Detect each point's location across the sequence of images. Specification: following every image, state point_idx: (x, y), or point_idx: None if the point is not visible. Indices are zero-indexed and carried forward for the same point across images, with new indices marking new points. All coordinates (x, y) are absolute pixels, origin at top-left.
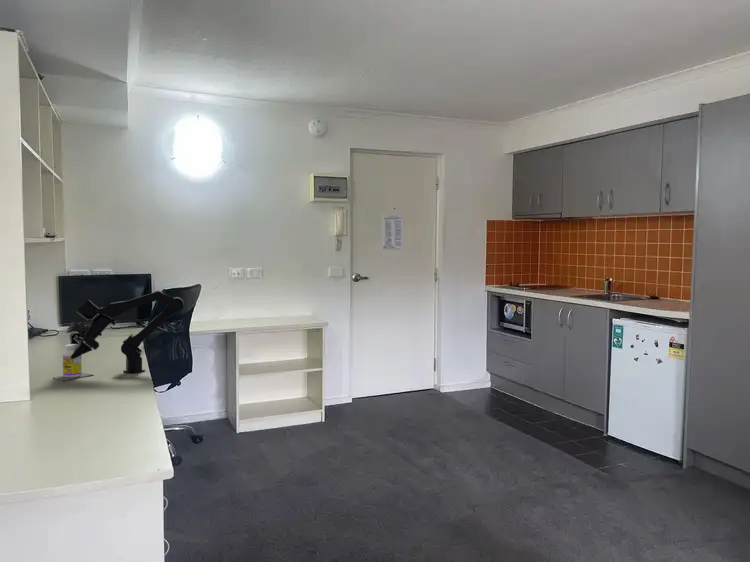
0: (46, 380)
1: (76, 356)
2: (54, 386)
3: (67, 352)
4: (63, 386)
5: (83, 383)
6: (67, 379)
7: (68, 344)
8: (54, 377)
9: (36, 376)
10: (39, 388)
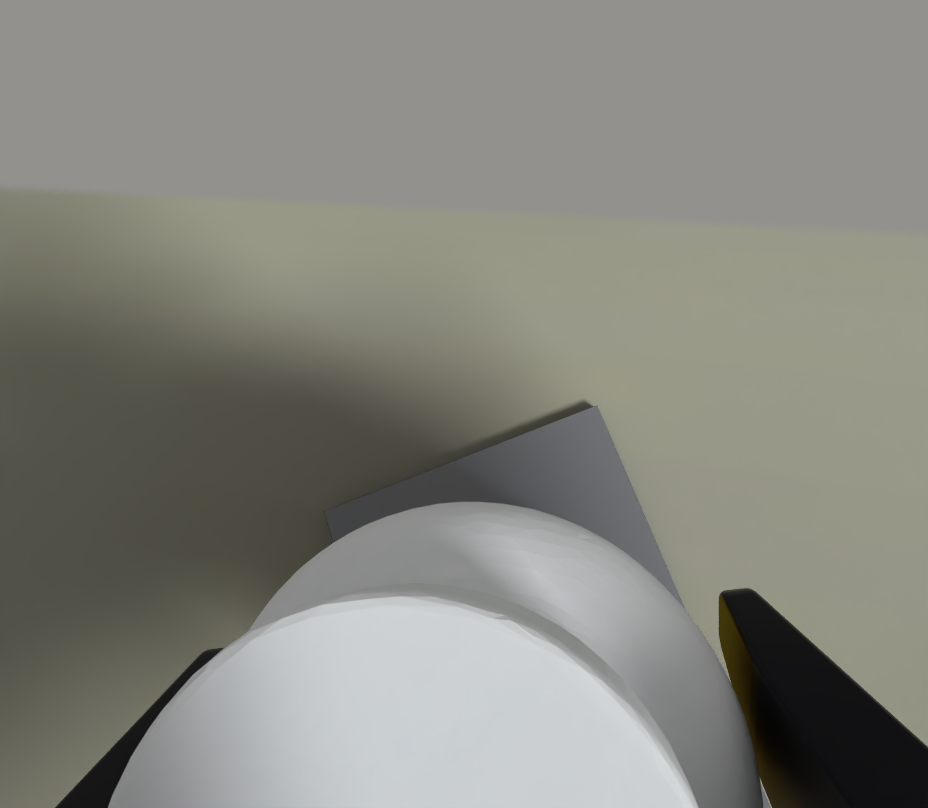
0: (501, 320)
1: None
2: (78, 359)
3: (299, 602)
4: (11, 443)
5: (11, 684)
6: None
7: (673, 801)
8: (581, 421)
9: (899, 233)
10: (85, 218)
